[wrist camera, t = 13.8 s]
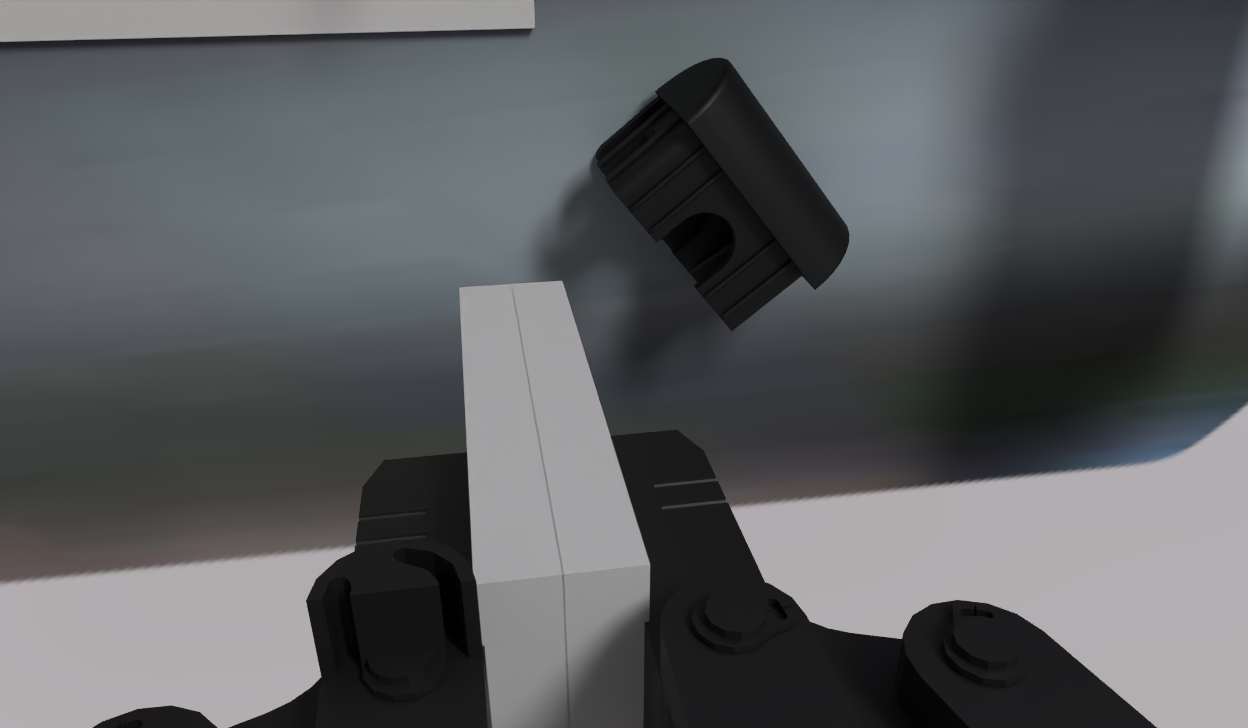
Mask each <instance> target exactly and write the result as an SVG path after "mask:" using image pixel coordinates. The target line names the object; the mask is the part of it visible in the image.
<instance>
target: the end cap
mask: <svg viewBox="0 0 1248 728" xmlns="http://www.w3.org/2000/svg"><path fill="white" fill-rule="evenodd" d="M655 92H656V94H657V95H658V97H657V98H656V99H654V100H653V101H652V102H651V103H650V104H649V105H647V106H646V107H645V108H644V109H643V110H642V111H640V112H639V113H638V114H637V115H636V116H635V117H633V118H632V119H631V120H630V121H629V122H628V123H626V124H625V125H624V126H623V127H622V128H621V129H619V130H618V131H617V132H616V133H615V134H614V135H612V136H611V137H610V138H609V139H608V140H607V141H605V142H604V143H603V144H602V145H601V146H600V147H599V149H598V150H597V156H596V157H597V160H598V163H597V165H598V166H599V168H600V170H601V171H602V172H603V174H604V175H605V176H606V177H607V176H608V177H607V178H605V179H606V180H607V182H608V184H609V186H610V187H611V189H612V190H613V191H614V193H615V194H616V195H617V196H618V198H619V199H620V200H621V201H622V203H623V204H624V205H625V206H626V207H627V208H628V210H629V211H630V212H631V213H632V214H633V215H634V217H635V218H636V219H637V220H638V221H639V222H640V224H641V225H642V226H643V227H644V228H645V230H646V231H647V232H648V233H649V234H650V235H651V237H652V238H653V239H654V240H655V241H656V242H658V241H660V240H661V239H663V240H664V241H665V242H666V244H667V245H668V246H669V247H670V248H671V250H672V252H673V254H674V255H675V256H676V257H677V259H678V260H679V261H680V262H681V263H682V264H683V266H684V267H685V268H686V269H687V270H688V272H689V273H690V274H691V275H692V276H693V277H694V279H695V280H696V281H697V283H696V284H695V285H694V286H695V288H696V289H697V291H698V292H699V293H700V294H701V295H702V296H703V298H704V299H705V300H706V301H707V302H708V304H709V305H710V306H711V307H712V308H713V309H714V311H715V312H716V313H717V314H718V315H719V316H720V318H721V319H722V320H723V321H724V322H725V324H726V325H727V326H728V327H729V328H730V329H731V330H732V331H733V330H734V329H735V328H736V327H738V326H739V325H740V324H741V323H743V322H744V321H745V320H746V319H748V318H749V317H750V316H752V315H753V314H754V313H755V312H757V311H758V310H759V309H760V308H762V307H763V306H764V305H765V304H767V303H768V302H769V301H770V300H772V299H773V298H774V297H776V296H777V295H778V294H779V293H781V292H782V291H783V290H784V289H786V288H787V287H788V286H789V285H791V284H792V283H793V282H794V281H796V280H797V279H798V278H800V277H801V276H803V277H804V278H805V280H806V281H807V282H808V283H809V284H810V285H811V286H812V287H813V288H814V289H815V290H816V289H817V288H818V287H819V286H820V285H821V284H822V283H824V282H825V281H826V280H827V279H828V277H829V276H830V275H831V274H832V273H833V272H834V271H835V269H836V268H837V267H838V265H839V264H840V263H841V261H842V259H843V257H844V255H845V253H846V250H847V247H848V244H849V231H848V227H847V225H846V224H845V223H844V221H843V220H842V218H841V217H840V216H839V214H838V213H837V211H836V210H835V208H834V207H833V206H832V204H831V203H830V201H829V200H828V199H827V197H826V196H825V194H824V193H823V192H822V190H821V189H820V187H819V186H818V185H817V183H816V182H815V180H814V179H813V178H812V176H811V175H810V173H809V172H808V171H807V169H806V168H805V166H804V165H803V164H802V162H801V161H800V159H799V158H798V157H797V155H796V154H795V152H794V151H793V150H792V148H791V147H790V145H789V144H788V142H787V141H786V140H785V138H784V137H783V135H782V134H781V133H780V131H779V130H778V128H777V127H776V126H775V124H774V123H773V121H772V120H771V119H770V117H769V116H768V114H767V113H766V112H765V110H764V109H763V107H762V106H761V105H760V103H759V102H758V100H757V99H756V98H755V96H754V95H753V93H752V92H751V91H750V89H749V88H748V86H747V85H746V84H745V82H744V81H743V79H742V78H741V77H740V75H739V74H738V72H737V71H736V69H735V68H734V67H733V65H732V64H731V63H730V62H729V61H728V60H727V59H723V58H712V59H708V60H705V61H702V62H700V63H698V64H695V65H693V66H691V67H690V68H688V69H686V70H684V71H683V72H681V73H679V74H678V75H676V76H675V77H673V78H672V79H671V80H669V81H668V82H667V83H665V84H664V85H663V86H661V87H660V88H659V89H658V90H657V91H655Z"/></svg>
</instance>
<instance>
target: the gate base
mask: <svg viewBox="0 0 1248 728" xmlns="http://www.w3.org/2000/svg"><path fill="white" fill-rule="evenodd" d="M523 28H535V16H534V0H0V42H13V41H53V40H92V39H131V38H170V37H209V36H249V35H288V34H327V33H366V32H405V31H445V30H484V29H523Z"/></svg>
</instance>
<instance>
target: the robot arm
mask: <svg viewBox="0 0 1248 728" xmlns="http://www.w3.org/2000/svg"><path fill="white" fill-rule="evenodd" d="M459 291H460V312H461V333H462V354H463V375H464V396H465V417H466V438H467V452H466V453H455V454H445V455H434V456H423V457H413V458H402V459H391V460H384V461H383V462H382V463H381V465H380V466H379V467H378V468H377V470H376V471H375V472H374V473H373V475H372V476H371V477H370V478H369V480H368V481H367V482H366V483H365V485H364V486H363V489H362V497H361V505H360V512H359V522H358V528H357V536H356V546H355V552H353V553H351V554H349V555H347V556H345V557H343V558H341V559H339V560H337V561H336V562H335V563H334V564H333V565H331V566H330V567H329V568H328V569H327V570H326V571H325V572H324V573H323V574H321V575H320V576H319V577H318V578H317V579H316V581H315V583H314V585H313V587H312V589H311V591H310V594H309V596H308V598H307V600H306V602H307V607H308V612H309V617H310V622H311V627H312V632H313V636H314V642H315V647H316V652H317V656H318V661H319V666H320V671H321V676H322V677H321V678H320V679H319V680H318V681H317V682H316V683H315V684H314V685H313V686H312V687H311V688H310V689H309V690H307V691H305V692H304V693H303V694H301V695H300V696H298V697H297V698H295V699H294V700H292V701H291V702H289V703H287V704H285V705H283V706H281V707H279V708H276V709H274V710H272V711H270V712H268V713H266V714H263V715H261V716H258V717H256V718H253V719H250V720H248V721H245V722H242V723H240V724H237V725H234V726H232V727H229V728H1156V727H1155V726H1154V725H1153V724H1152V723H1151V722H1150V721H1148V720H1147V719H1146V718H1145V717H1144V716H1143V715H1141V714H1140V713H1139V712H1138V711H1137V710H1135V709H1134V708H1133V707H1132V706H1131V705H1130V704H1128V703H1127V702H1126V701H1125V700H1123V699H1122V698H1121V697H1120V696H1119V695H1118V694H1117V693H1115V692H1114V691H1113V690H1112V689H1111V688H1110V687H1108V686H1107V685H1106V684H1105V683H1104V682H1102V681H1101V680H1100V679H1099V678H1098V677H1096V676H1095V675H1094V674H1093V673H1092V672H1091V671H1090V670H1088V669H1087V668H1086V667H1085V666H1084V665H1082V664H1081V663H1080V662H1079V661H1078V660H1077V659H1075V658H1074V657H1073V656H1072V655H1071V654H1069V653H1068V652H1067V651H1066V650H1065V649H1064V648H1062V647H1061V646H1060V645H1059V644H1058V643H1057V642H1055V641H1054V640H1053V639H1052V638H1051V637H1050V636H1048V635H1047V634H1046V633H1045V632H1044V631H1042V630H1041V629H1039V628H1038V627H1036V626H1034V625H1033V624H1031V623H1030V622H1028V621H1027V620H1025V619H1024V618H1022V617H1021V616H1019V615H1018V614H1015V613H1012V612H1009V611H1007V610H1004V609H1001V608H999V607H996V606H993V605H990V604H986V603H979V602H970V601H961V600H955V601H949V602H942V603H936V604H931V605H929V606H928V607H926V608H925V609H923V610H921V611H919V612H918V613H916V614H914V615H913V616H912V618H911V620H910V621H909V623H908V625H907V627H906V629H905V631H904V633H903V638H902V639H896V638H887V637H879V636H871V635H863V634H854V633H848V632H842V631H838V630H833V629H828V628H825V627H822V626H820V625H817V624H815V623H812V622H810V621H809V620H808V618H807V616H806V615H805V613H804V612H803V611H802V609H801V608H800V607H799V606H798V604H797V603H796V602H795V601H794V600H793V598H792V597H790V596H789V595H787V594H785V593H784V592H782V591H781V590H779V589H777V588H775V587H774V586H772V585H770V584H768V583H765V581H764V579H763V577H762V575H761V573H760V571H759V569H758V566H757V564H756V562H755V560H754V558H753V556H752V553H751V551H750V549H749V547H748V545H747V543H746V541H745V538H744V536H743V534H742V532H741V530H740V528H739V526H738V523H737V521H736V519H735V517H734V515H733V513H732V511H731V508H730V506H729V504H728V503H726V499H725V496H724V493H723V491H722V489H721V487H720V485H719V483H718V481H717V482H716V476H715V474H714V472H713V470H712V468H711V466H710V463H709V461H708V459H707V457H706V455H705V453H704V451H703V450H702V449H701V448H700V447H698V446H697V445H696V444H694V443H693V442H692V441H690V440H689V439H688V438H687V437H685V436H684V435H683V434H681V433H680V432H679V431H678V430H670V431H659V432H648V433H638V434H627V435H616V436H610V433H609V430H608V427H607V424H606V420H605V417H604V414H603V411H602V407H601V404H600V401H599V398H598V395H597V391H596V388H595V385H594V382H593V378H592V375H591V372H590V369H589V366H588V362H587V359H586V356H585V353H584V349H583V346H582V343H581V340H580V336H579V333H578V330H577V327H576V324H575V320H574V317H573V314H572V311H571V307H570V304H569V301H568V298H567V294H566V291H565V288H564V285H563V282H562V281H550V282H535V283H520V284H505V285H490V286H475V287H460V288H459ZM93 728H217V727H216V726H215V725H214V724H212V723H211V722H210V721H209V720H208V719H207V718H206V717H204V716H203V715H202V714H201V713H200V712H196V711H192V710H188V709H184V708H180V707H175V706H164V707H153V708H143V709H136V710H134V711H131V712H128V713H125V714H123V715H120V716H117V717H114V718H111V719H109V720H106V721H103V722H101V723H99V724H98V725H96V726H95V727H93Z"/></svg>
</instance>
